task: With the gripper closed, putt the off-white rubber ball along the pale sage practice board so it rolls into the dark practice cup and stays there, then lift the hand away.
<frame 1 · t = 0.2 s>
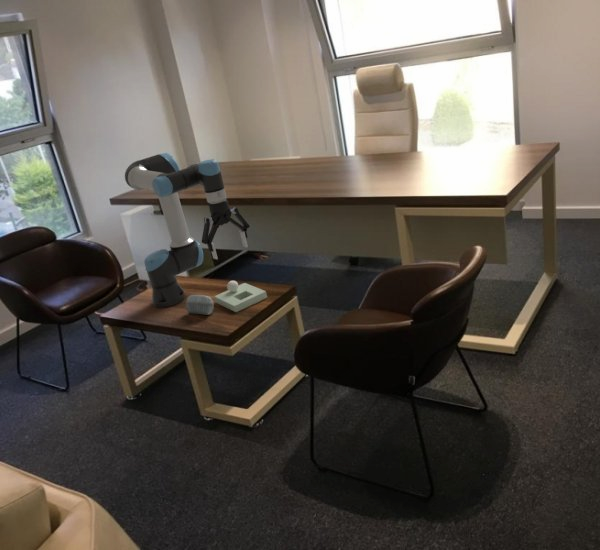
hand: (230, 252, 233), 28 cm above the table, fingers open, 13 cm apart
green board: (241, 300, 259), on the table
ball: (232, 286, 261), point 5 cm above the table, touching green board
spool: (202, 313, 255), on the table
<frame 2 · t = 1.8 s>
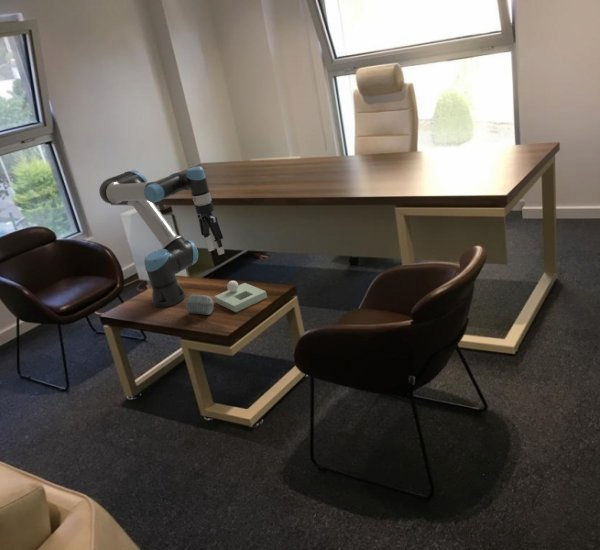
hand: (216, 252, 261), 20 cm above the table, fingers open, 9 cm apart
nothing on the table moved.
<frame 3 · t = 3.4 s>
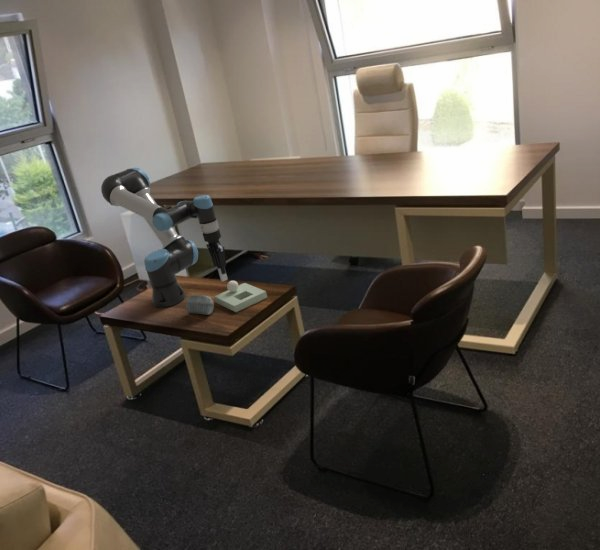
hand: (224, 280, 266), 7 cm above the table, fingers closed
nothing on the table moved.
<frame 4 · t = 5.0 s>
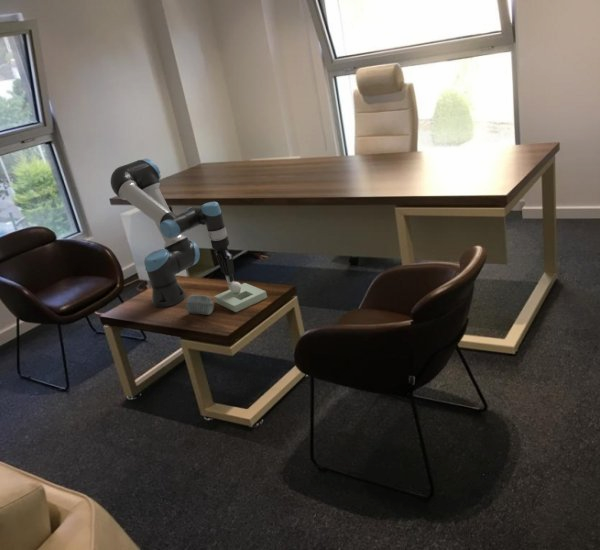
hand: (232, 287, 262), 4 cm above the table, fingers closed
ball: (235, 287, 259), point 5 cm above the table, tilted 55°, touching green board
everything else where it was.
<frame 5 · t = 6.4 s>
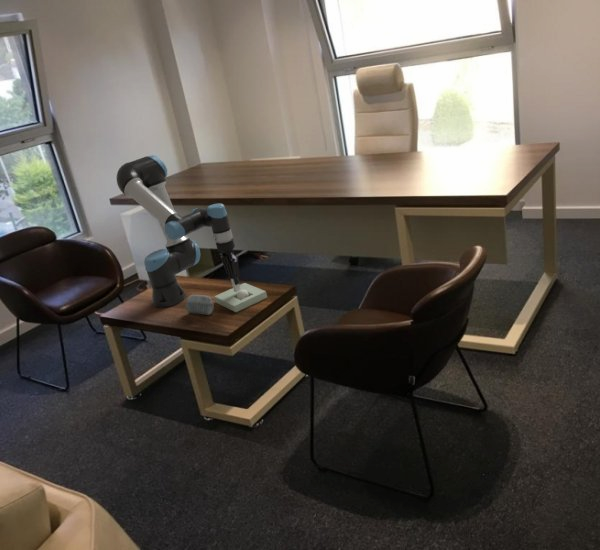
hand: (237, 290, 258), 4 cm above the table, fingers closed
ball: (242, 295, 256), point 3 cm above the table, tilted 174°, touching green board
everything else where it was.
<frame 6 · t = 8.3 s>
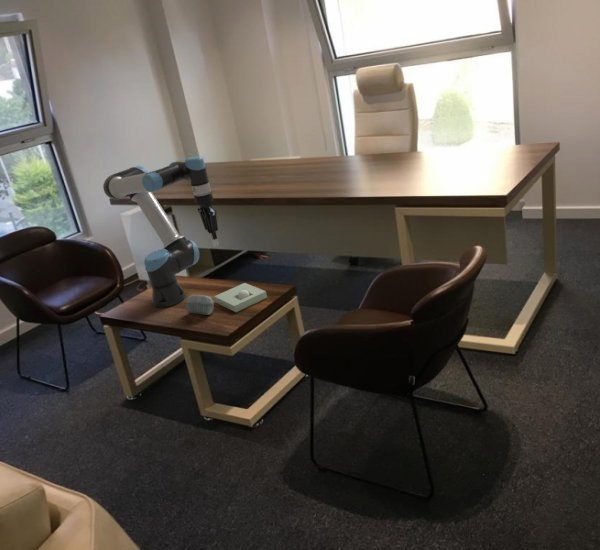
hand: (215, 245, 258), 24 cm above the table, fingers closed
ball: (243, 295, 255), point 3 cm above the table, tilted 153°, touching green board
everything else where it was.
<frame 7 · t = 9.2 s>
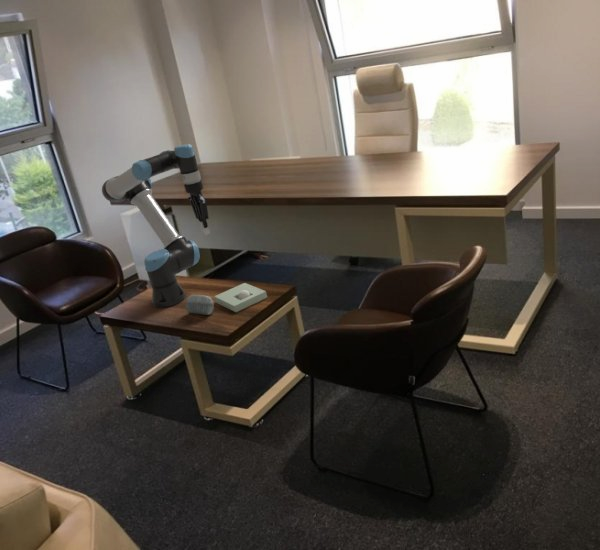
hand: (206, 234, 257), 29 cm above the table, fingers closed
ball: (244, 296, 255), point 3 cm above the table, tilted 144°, touching green board
everything else where it was.
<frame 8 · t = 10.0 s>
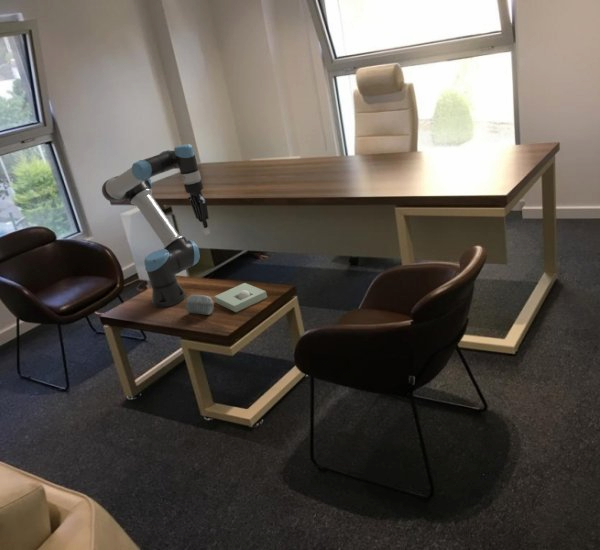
hand: (206, 234, 257), 29 cm above the table, fingers closed
nothing on the table moved.
at the end: ball 0.7 cm from the target spot on the green board, point 2.8 cm above the green board's base; ball moved 9.1 cm from its start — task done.
